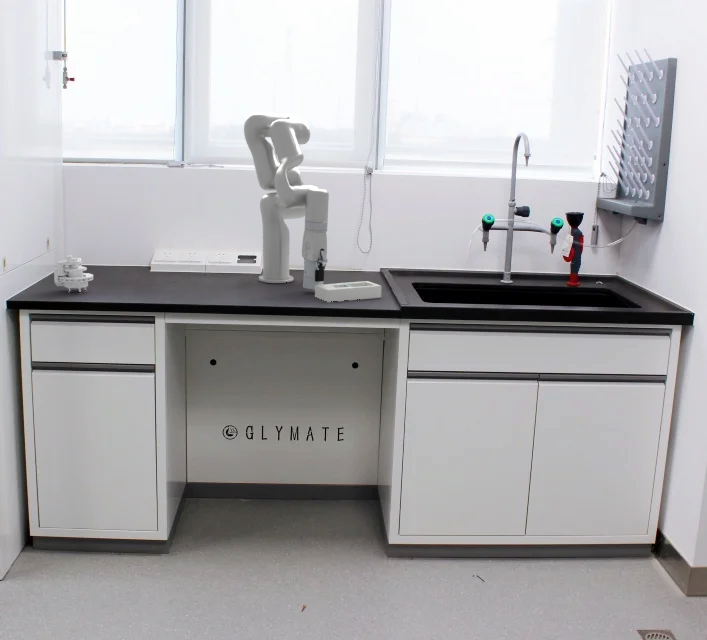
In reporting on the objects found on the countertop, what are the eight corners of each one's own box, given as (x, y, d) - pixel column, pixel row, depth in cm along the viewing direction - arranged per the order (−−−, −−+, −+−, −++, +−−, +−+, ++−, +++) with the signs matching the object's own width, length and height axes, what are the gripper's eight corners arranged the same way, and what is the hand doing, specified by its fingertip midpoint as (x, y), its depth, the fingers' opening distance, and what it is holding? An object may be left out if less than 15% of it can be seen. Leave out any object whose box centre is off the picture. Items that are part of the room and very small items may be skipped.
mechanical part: (82, 296, 253) (80, 259, 250) (48, 293, 255) (46, 257, 252) (100, 289, 263) (99, 254, 261) (68, 287, 266) (65, 252, 263)
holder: (315, 297, 261) (315, 285, 260) (367, 292, 270) (367, 281, 270) (327, 302, 253) (327, 290, 252) (380, 297, 263) (381, 285, 262)
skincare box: (302, 288, 267) (303, 252, 263) (308, 285, 271) (309, 250, 267) (318, 290, 264) (320, 254, 261) (324, 288, 268) (326, 252, 265)
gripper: (294, 222, 267) (292, 274, 272) (317, 231, 253) (315, 285, 258) (314, 222, 271) (312, 272, 276) (338, 230, 257) (335, 283, 261)
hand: (313, 278), depth 267 cm, fingers closed on skincare box, 7 cm apart
